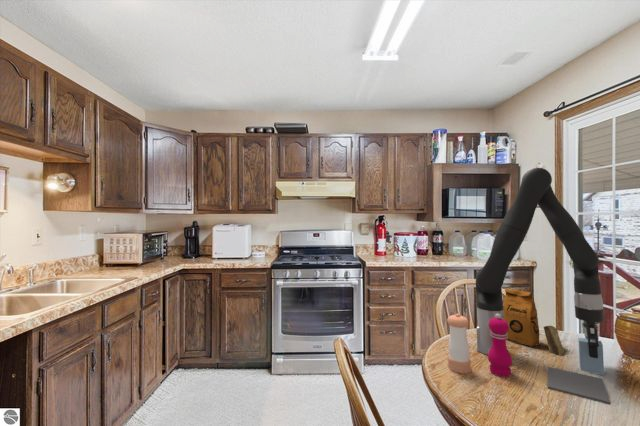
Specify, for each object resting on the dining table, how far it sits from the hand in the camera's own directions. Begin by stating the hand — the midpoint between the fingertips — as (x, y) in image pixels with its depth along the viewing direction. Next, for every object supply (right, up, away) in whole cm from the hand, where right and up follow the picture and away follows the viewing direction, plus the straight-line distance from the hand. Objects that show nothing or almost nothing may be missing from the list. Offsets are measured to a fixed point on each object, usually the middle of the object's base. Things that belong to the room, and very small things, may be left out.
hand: (592, 352), depth 104 cm
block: (0, -6, 0) cm, 6 cm away
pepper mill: (-32, -7, -1) cm, 33 cm away
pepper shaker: (-45, -7, +2) cm, 46 cm away
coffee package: (-7, -7, +25) cm, 27 cm away
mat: (-14, -6, -9) cm, 17 cm away
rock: (+1, -7, +16) cm, 18 cm away
